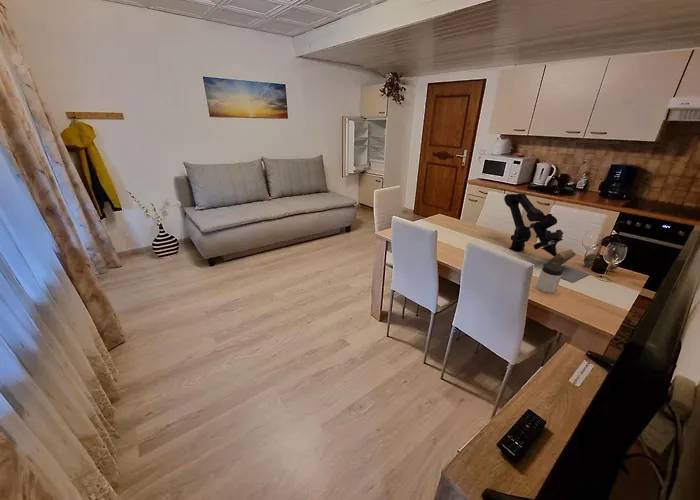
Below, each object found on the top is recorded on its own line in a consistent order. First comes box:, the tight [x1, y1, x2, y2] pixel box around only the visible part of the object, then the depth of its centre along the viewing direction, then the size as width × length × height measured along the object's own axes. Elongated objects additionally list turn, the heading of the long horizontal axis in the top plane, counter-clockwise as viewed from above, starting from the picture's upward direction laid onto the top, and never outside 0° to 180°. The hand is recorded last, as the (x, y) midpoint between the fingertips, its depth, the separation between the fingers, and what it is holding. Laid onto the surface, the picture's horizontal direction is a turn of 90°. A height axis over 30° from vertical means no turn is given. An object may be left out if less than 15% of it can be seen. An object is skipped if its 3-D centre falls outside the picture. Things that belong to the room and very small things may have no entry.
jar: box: [535, 262, 563, 294], centre depth 143 cm, size 9×8×12 cm
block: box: [544, 248, 577, 266], centre depth 163 cm, size 4×12×11 cm
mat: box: [560, 264, 591, 284], centre depth 160 cm, size 13×18×1 cm
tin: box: [583, 253, 620, 272], centre depth 165 cm, size 15×3×8 cm, turn 62°
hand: (555, 256), depth 164 cm, fingers closed
